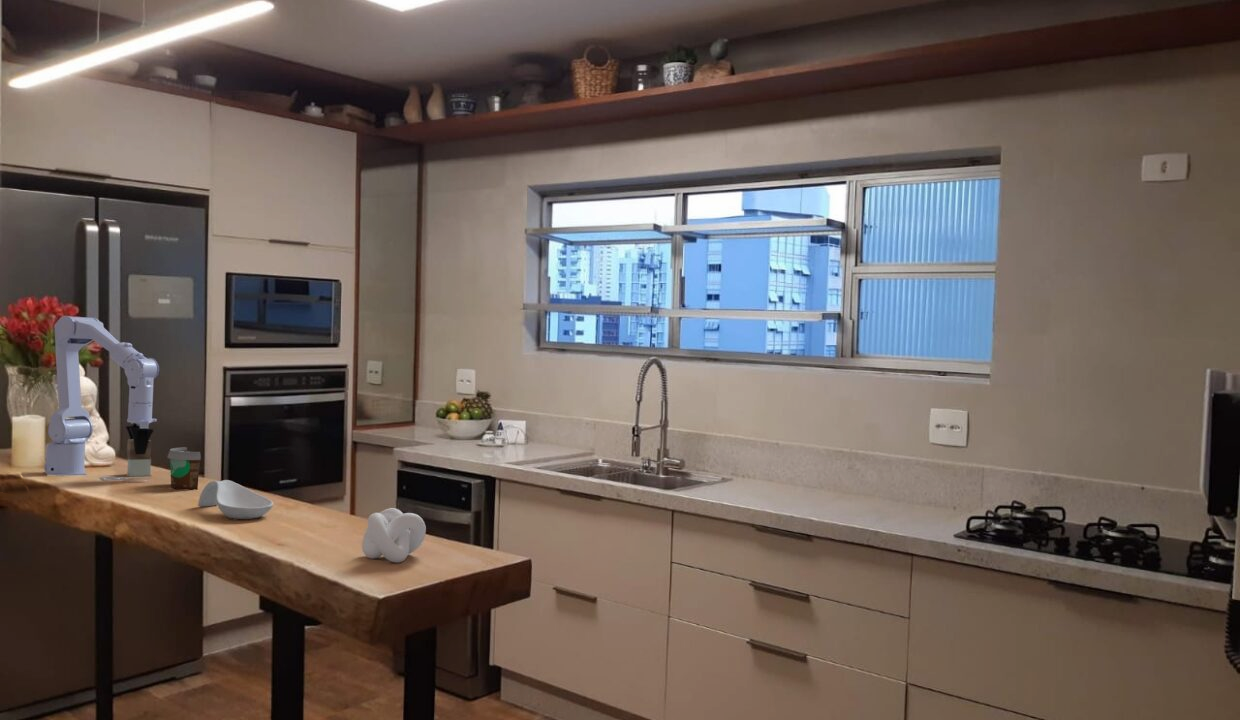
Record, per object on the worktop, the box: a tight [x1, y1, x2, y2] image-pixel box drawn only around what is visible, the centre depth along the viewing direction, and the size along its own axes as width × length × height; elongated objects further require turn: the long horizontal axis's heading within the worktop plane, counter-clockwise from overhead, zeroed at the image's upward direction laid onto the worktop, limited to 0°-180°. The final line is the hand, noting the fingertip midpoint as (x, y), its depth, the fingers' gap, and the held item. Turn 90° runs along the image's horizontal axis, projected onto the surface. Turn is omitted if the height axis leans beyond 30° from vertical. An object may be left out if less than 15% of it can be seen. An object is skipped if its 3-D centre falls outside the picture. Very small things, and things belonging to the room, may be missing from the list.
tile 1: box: [99, 476, 127, 482], centre depth 246 cm, size 6×6×1 cm
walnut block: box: [126, 438, 152, 460], centre depth 244 cm, size 5×5×5 cm
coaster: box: [122, 477, 153, 484], centre depth 244 cm, size 7×7×1 cm
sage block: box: [126, 457, 152, 478], centre depth 254 cm, size 5×5×5 cm
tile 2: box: [125, 473, 153, 478], centre depth 254 cm, size 6×6×1 cm
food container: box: [167, 446, 202, 491], centre depth 239 cm, size 12×6×10 cm, turn 42°
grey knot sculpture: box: [361, 507, 427, 564], centre depth 172 cm, size 11×12×9 cm
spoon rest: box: [197, 479, 274, 520], centre depth 207 cm, size 24×12×7 cm, turn 51°
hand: (138, 452), depth 244 cm, fingers closed on walnut block, 5 cm apart
